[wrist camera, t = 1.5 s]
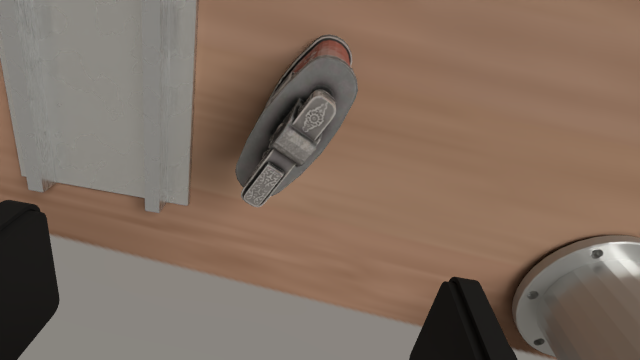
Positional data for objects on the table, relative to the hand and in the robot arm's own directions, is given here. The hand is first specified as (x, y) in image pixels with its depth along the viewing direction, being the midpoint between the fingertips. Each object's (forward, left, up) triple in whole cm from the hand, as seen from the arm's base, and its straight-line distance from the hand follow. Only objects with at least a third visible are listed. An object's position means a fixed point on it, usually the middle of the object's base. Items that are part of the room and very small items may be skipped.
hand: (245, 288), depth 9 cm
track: (+13, +1, -18) cm, 22 cm away
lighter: (0, 0, -18) cm, 18 cm away
